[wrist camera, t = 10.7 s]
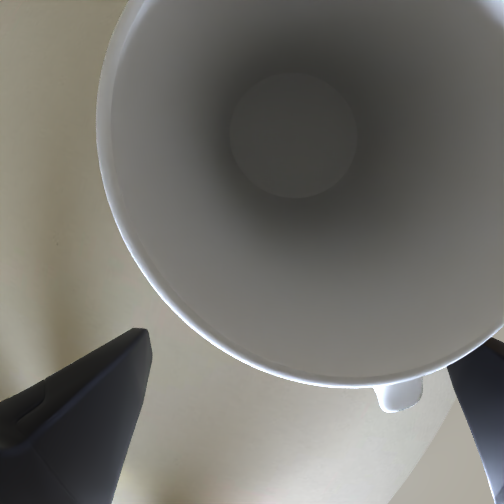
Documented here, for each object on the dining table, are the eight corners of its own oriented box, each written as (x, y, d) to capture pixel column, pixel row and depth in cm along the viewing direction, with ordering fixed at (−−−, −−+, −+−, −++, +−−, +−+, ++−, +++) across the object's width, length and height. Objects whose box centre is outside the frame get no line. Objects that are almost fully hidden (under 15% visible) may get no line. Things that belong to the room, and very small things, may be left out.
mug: (201, 86, 13) (56, -34, 2) (340, 54, 13) (504, -72, 1) (258, 281, 17) (262, 508, 5) (383, 249, 16) (529, 414, 5)
